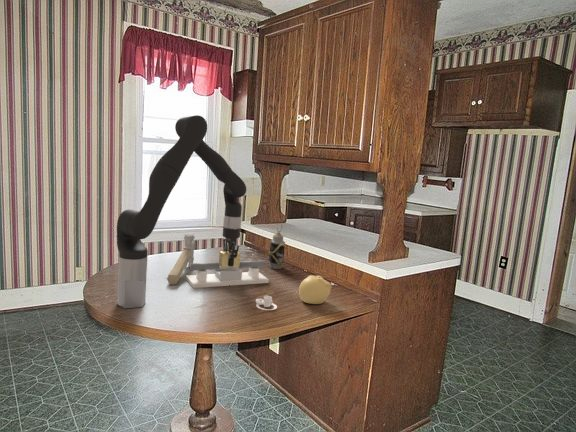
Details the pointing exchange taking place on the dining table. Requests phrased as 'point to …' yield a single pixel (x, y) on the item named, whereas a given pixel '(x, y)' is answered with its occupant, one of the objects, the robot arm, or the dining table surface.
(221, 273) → the shaft rig
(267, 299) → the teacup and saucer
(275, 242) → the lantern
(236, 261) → the gold rectangular block
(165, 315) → the dining table surface
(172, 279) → the hammer
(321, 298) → the tan round ball
